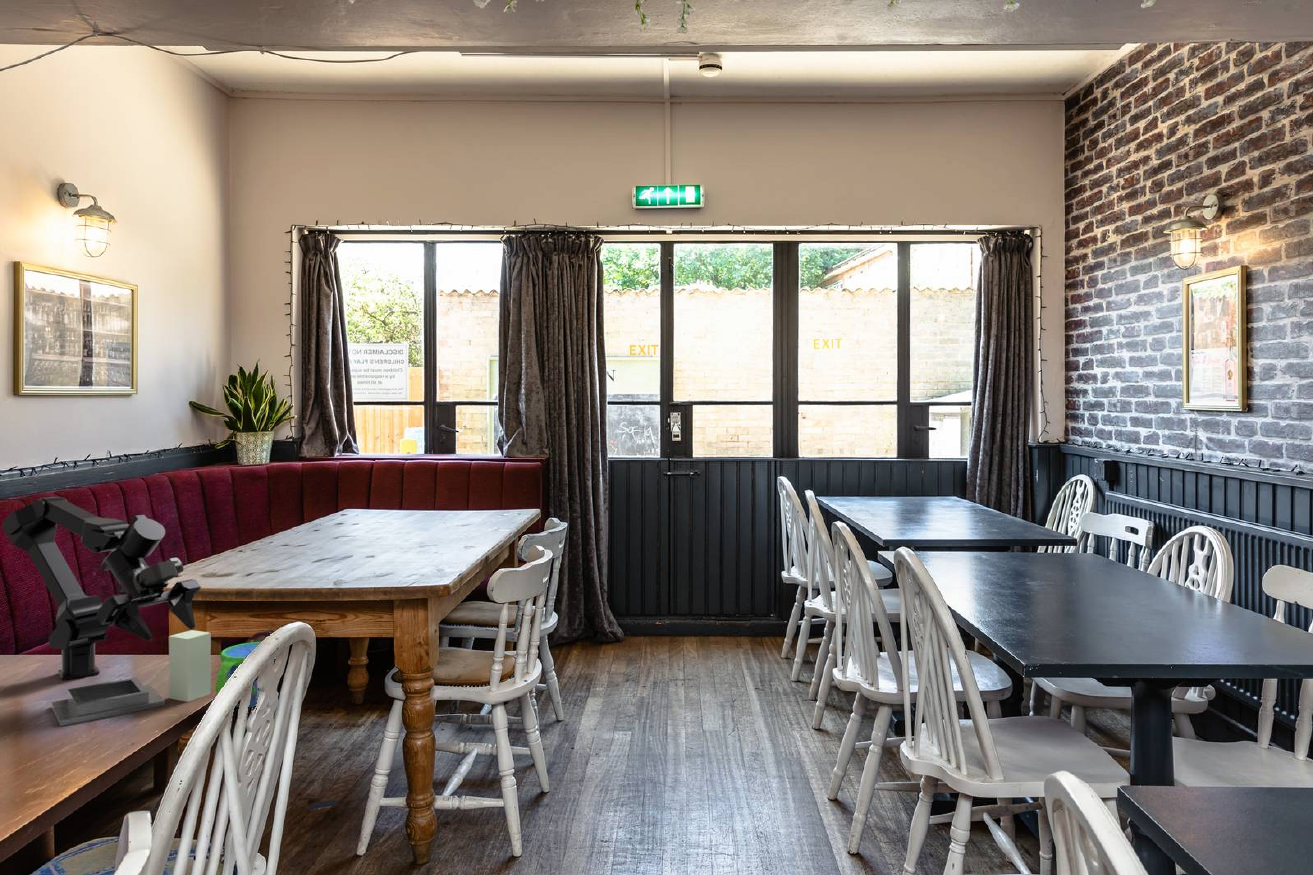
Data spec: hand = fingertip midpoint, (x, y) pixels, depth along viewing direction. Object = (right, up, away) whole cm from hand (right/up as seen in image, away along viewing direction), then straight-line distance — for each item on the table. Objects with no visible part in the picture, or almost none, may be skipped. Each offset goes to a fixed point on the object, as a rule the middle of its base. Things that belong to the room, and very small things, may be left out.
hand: (172, 633), depth 166 cm
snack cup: (+18, -12, -4) cm, 22 cm away
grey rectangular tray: (-7, -12, -8) cm, 16 cm away
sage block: (+4, -12, -1) cm, 13 cm away
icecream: (+8, -11, +21) cm, 25 cm away
